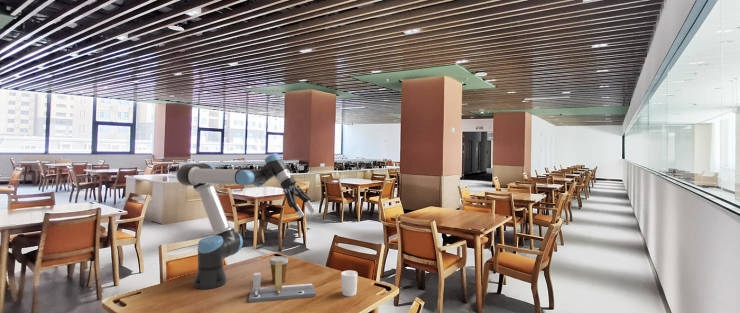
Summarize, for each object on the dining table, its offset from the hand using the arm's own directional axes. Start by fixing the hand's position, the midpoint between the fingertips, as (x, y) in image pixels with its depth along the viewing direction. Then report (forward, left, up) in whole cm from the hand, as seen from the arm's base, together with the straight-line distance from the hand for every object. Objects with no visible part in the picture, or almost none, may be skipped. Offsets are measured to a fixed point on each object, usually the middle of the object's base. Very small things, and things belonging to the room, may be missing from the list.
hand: (308, 214), depth 184 cm
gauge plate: (-12, -11, -36) cm, 39 cm away
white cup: (+19, -17, -36) cm, 44 cm away
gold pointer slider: (-14, -11, -34) cm, 38 cm away
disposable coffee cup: (-14, +7, -36) cm, 40 cm away
